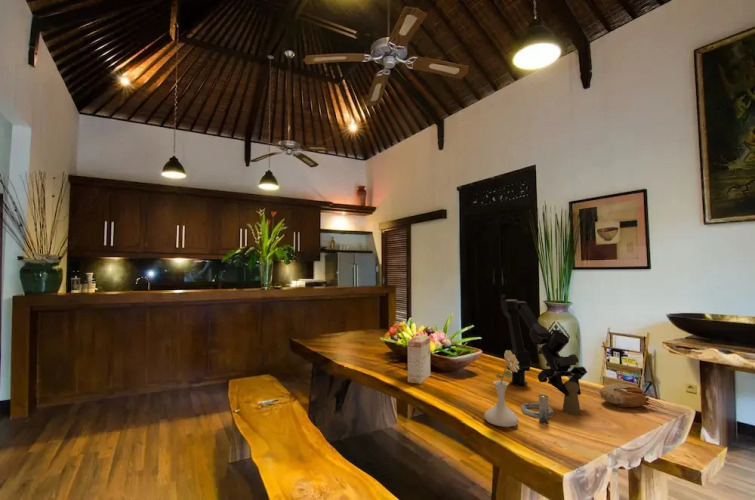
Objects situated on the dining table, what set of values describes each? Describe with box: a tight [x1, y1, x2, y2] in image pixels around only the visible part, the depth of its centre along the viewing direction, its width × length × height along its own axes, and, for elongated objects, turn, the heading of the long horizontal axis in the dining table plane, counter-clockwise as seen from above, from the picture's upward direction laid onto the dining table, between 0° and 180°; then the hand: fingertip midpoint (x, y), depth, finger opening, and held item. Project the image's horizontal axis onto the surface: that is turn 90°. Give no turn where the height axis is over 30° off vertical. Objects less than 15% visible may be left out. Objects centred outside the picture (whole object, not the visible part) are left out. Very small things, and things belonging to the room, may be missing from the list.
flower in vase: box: [483, 349, 520, 428], centre depth 127 cm, size 13×11×25 cm
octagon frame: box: [520, 394, 554, 425], centre depth 134 cm, size 16×10×9 cm, turn 170°
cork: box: [562, 380, 582, 416], centre depth 137 cm, size 6×6×11 cm
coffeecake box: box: [407, 334, 431, 385], centre depth 176 cm, size 15×7×20 cm, turn 154°
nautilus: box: [598, 383, 667, 413], centre depth 142 cm, size 8×22×15 cm
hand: (574, 395), depth 135 cm, fingers closed on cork, 5 cm apart
